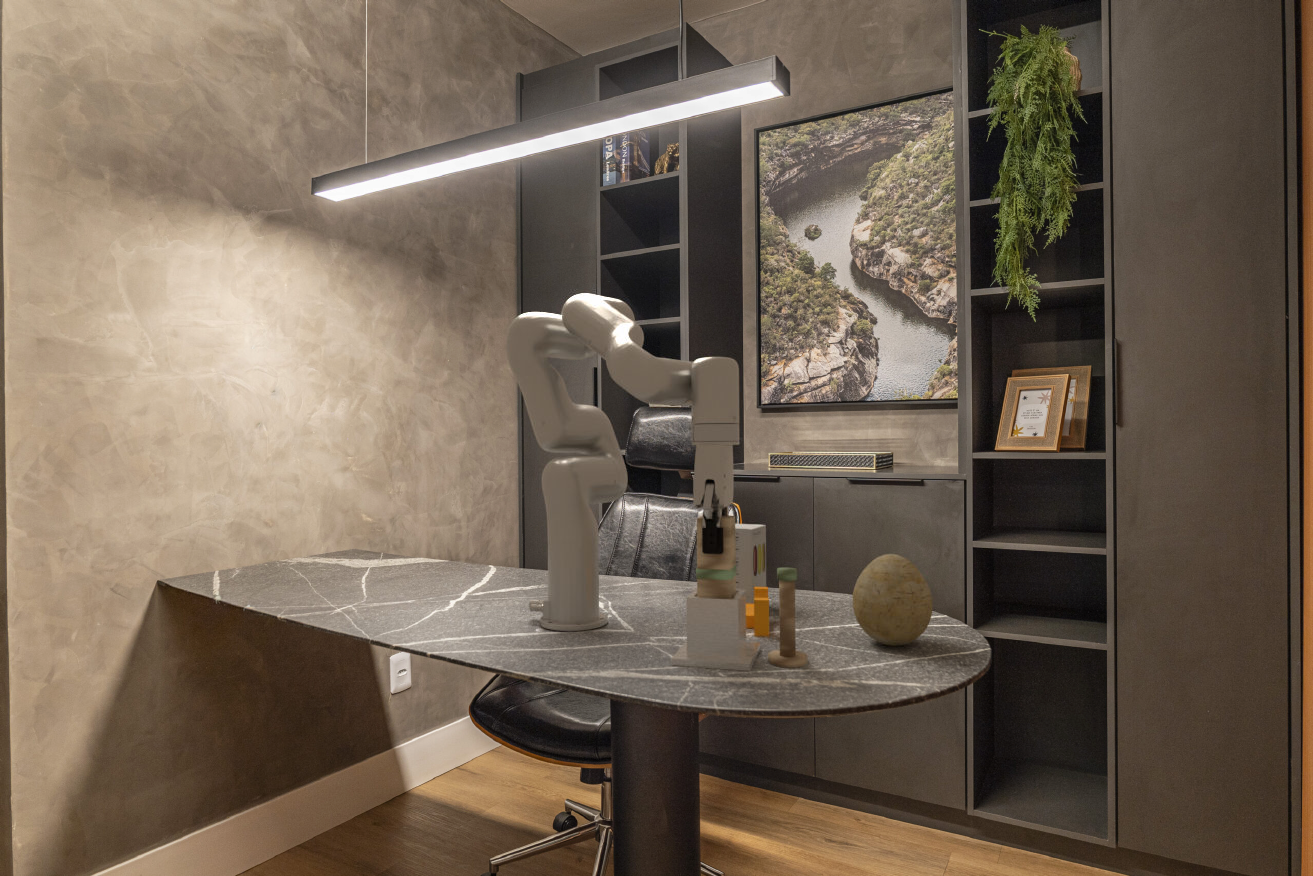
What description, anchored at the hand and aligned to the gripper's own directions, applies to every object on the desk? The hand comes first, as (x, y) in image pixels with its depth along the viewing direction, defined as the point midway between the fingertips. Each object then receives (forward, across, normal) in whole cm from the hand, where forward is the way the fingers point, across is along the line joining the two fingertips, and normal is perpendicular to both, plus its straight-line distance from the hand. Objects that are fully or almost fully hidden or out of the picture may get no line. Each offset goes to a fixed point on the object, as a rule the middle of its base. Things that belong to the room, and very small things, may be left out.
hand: (716, 549), depth 118 cm
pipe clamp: (+17, -20, +4) cm, 27 cm away
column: (+10, 0, 0) cm, 10 cm away
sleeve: (+17, 0, 0) cm, 17 cm away
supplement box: (+17, -35, -2) cm, 39 cm away
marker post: (+17, 0, +11) cm, 20 cm away
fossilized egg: (+17, -14, +27) cm, 35 cm away
